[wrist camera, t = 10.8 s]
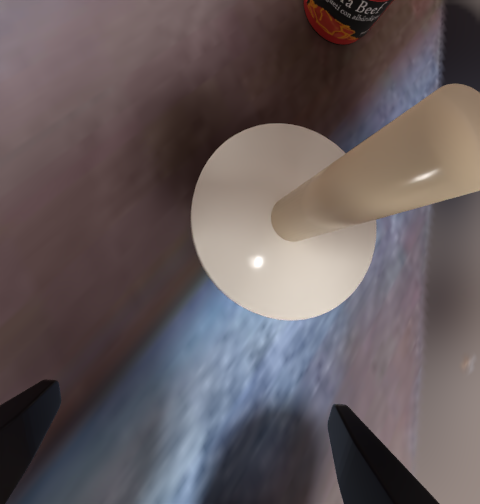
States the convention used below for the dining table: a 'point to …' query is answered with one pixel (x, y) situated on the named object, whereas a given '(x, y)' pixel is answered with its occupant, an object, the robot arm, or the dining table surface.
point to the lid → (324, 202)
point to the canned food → (344, 18)
